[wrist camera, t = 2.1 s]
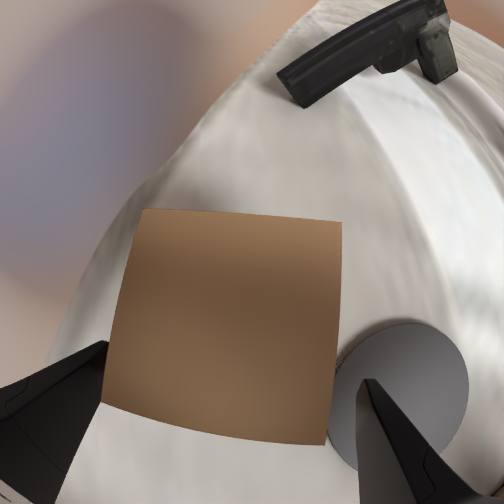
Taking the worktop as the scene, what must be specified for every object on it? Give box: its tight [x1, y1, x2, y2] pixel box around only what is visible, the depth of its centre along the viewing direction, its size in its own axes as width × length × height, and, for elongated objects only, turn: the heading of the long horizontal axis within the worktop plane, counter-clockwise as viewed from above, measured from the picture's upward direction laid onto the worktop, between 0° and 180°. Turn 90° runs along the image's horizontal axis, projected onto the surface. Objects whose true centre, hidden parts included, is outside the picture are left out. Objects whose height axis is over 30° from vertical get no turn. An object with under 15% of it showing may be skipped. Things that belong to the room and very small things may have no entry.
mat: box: [328, 323, 469, 471], centre depth 15 cm, size 11×11×1 cm
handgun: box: [276, 0, 458, 109], centre depth 25 cm, size 2×24×15 cm, turn 114°
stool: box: [101, 208, 342, 445], centre depth 12 cm, size 6×6×12 cm
